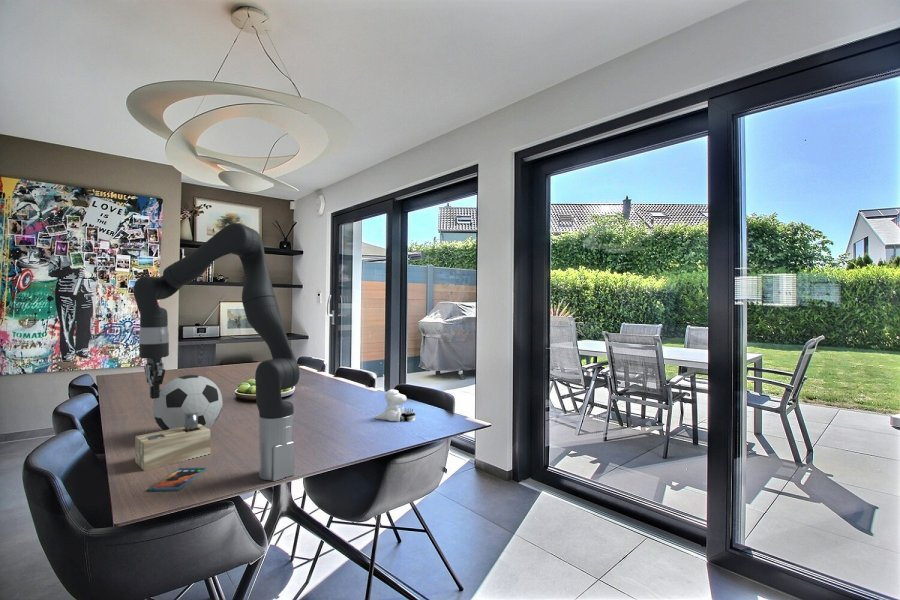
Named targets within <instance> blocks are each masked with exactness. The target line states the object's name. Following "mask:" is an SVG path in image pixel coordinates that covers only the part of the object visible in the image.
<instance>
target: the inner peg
mask: <svg viewBox="0 0 900 600" xmlns="http://www.w3.org/2000/svg"><path fill="white" fill-rule="evenodd" d="M195 430H198V413H187V414H185V432H190V431H195Z"/></svg>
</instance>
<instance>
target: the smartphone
mask: <svg viewBox="0 0 900 600" xmlns="http://www.w3.org/2000/svg"><path fill="white" fill-rule="evenodd" d="M207 469H208V468H207V467H180V468H178V469H175V470H174V471H173V472H171V473H169V474H168V475H166V476H165V477H163V478H161V479H160V480H159V481H157V482H155V483H153V484H152V485H150V486H149V487H148V488H147V491H148V492H161V491H162V492H164V491H165V492H167V491H169V492H170V491H171V492H172V491H176V492H177V491H180V490H181V489H183V488H184V487H185V486H187V485H188V484H189V483H191V482H192V481H193V480H194V479H196V478H197V477H199V474H200V473H201V474H202V473H204V472H205V471H206V470H207ZM204 470H205V471H204ZM203 471H204V472H203ZM201 474H200V475H201ZM195 477H196V478H195Z"/></svg>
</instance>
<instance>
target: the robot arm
mask: <svg viewBox="0 0 900 600" xmlns="http://www.w3.org/2000/svg"><path fill="white" fill-rule="evenodd" d="M231 254H232V255H236V256H238V258H239V259H240V262H241V265H242V269H243V273H244V282H243V286H242V293H241V302H242V307H243V310H244V314H245V317H246V320H247V322H248V324H249V325H250V327H252V329H253V330H254V331H255V332H256V333H257V334H258V336H259V337H261V339H263V341H264V342H265V343H266V345H267V347H268V349H269V351H270V355H271V357H272V359H267V360H263V361H261V362H260V363H259V364H258V365H257V367H256V369H255V374H254V376H255V377H254V379H255V380H254V383H255V384H254V385H255V386H254V387H255V398H256V399H255V400H256V401H255V402H256V406H257V410H258V416H259V417H258V423H259V425H258V438H259V439H258V462H259V463H258V464H259V465H258V467H259V469H258V471H259V473H258V474H259V475H258V476H259V478H260V479H262V480H264V481H272V482H276V481H279V480H282V479H286V478H289V477H293V476H295V441H294V440H295V439H294V432H295V431H294V418H295V417H294V412H295V411H294V410H295V409H294V408H295V407H294V403H293V402H291V401H288V400H283V397H282V390H283V391H284V390H287V389H291V388H294V387H295V386H296V385H298V383H299V380H300V375H301V374H300V368H299V364H298V362H297V358H296V356H295V354H294V351H293V349H292V346H291V344H290V341H289V338H288V335H287V332H286V329H285V325H284V322H283V320H282V316H281V312H280V307H279V304H278V300H277V297H276V294H275V292H274V287H273V285H272V281H271V280H272V279H271V276H270V274H269V271H268V266H267V260H266V255H265V248H264V242H263V239H262V236H261V235H260V234H259V232H258V231H257V230H255V229H254V228H252V227H249V226H247V225H245V224H242V223H240V222H233V223H229V224H227V225H226V226H224V227H223V228H222V229H220V230H219V231H218V232H216V234H213V236H211V237H210V238H209V239H207V240H206V241H205V242H204V243H203V244H202V245H201V246H199V247H198V248H196V249H195V250H194V251H193V252H191V253H189V254H187V255H186V256H184V257H183V258H180V259H179V260H177V261H175V262H173V263H171V264H170V265H168V266H166V268H164V269H163V271H162V275H161V276H140V277H139V278H137V280H136V281H135V282H134V285H133V289H132V290H133V296H134V300H135V302H136V307H137V309H138V313H139V327H140V328H139V334H138V343H139V345H138V354H139V358H140V359H146V363H145V364H144V365H145V366H144V368H143V369H144V373H145V379H146V383H147V384H148V386H149V398H150V399H152V400H153V399H154V400H155V398H159V397H160V390H161V389H160V387H161V385H163V382H164V378H165V374H166V369H165V368H164V365H165V364H164V362H163V360H162V359H163V358H166V357H168V356H169V354H170V350H169V349H170V348H169V347H170V337H169V336H170V335H169V329H168V328H169V327H168V319H169V317H168V311H167V309H166V308H164V307H161V306H160V304H159V302H158V300H159V301H160V300H165V299H168V298H170V297H171V296H173V295H174V294H176V293H177V292H178V291H179V290H180V289H181V288H182V287H183V286H185V285H187V284H189V283H191V282H192V281H195V280H196V279H198V278H199V277H201V276H202V275H204V273H205V272H206V271H207V270H208V268H209V267H210V266H211V264H212V263H214V261H216V260H217V259H219V258H222V257H224V256H226V255H231ZM285 477H286V478H285Z"/></svg>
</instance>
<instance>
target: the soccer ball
mask: <svg viewBox="0 0 900 600" xmlns="http://www.w3.org/2000/svg"><path fill="white" fill-rule="evenodd" d="M222 409H223V396H222V393H221V390H220V389H219V387H218V385H217V384H216V383H215V382H213V381H212V380H211V379H209V378H207V377H204V376H201V375H197V374H196V375H195V374H188V375H183V376H182V375H181V376H179V377H176V378H174V379H172V380H170V381H169V382H167V383H166V384H164V386H163V387H161V389H160V397H159V398H155V399H154V401H153V405H152V414H153V418H154V420H155V422H156V424H157V425H158V427H160V429H161V431H165V430H170V429H175V428H180V427H185V414H187V413H198V424H201V425H203V426H205V427H206V428H208V429H210V428H211V426H213V425H214V424H215V422H216V421H218V418H219V416H220V415H221V412H222Z"/></svg>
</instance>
